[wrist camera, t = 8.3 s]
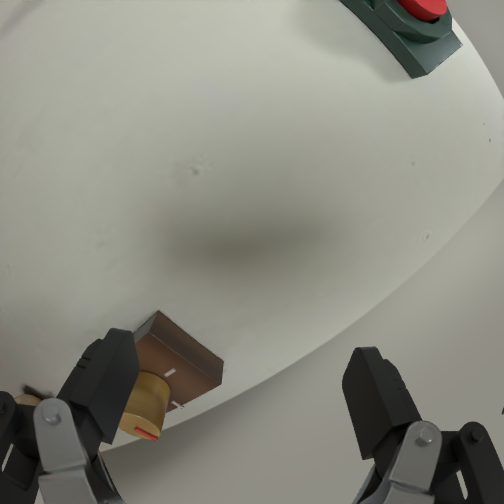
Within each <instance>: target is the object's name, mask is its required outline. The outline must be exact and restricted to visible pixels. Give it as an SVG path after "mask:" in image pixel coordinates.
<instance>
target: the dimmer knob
mask: <svg viewBox="0 0 504 504" xmlns="http://www.w3.org/2000/svg"><path fill="white" fill-rule="evenodd" d="M170 393H171V391H170V388H169V386H168V384H167V383H166V382H165V381H164V380H163V379H161V378H160V377H158V376H156V375H154V374H152V373H149V372H145V371H139V374H138V377H137V380H136V382H135V385H134V387H133V390H132V392H131V395H130V397H129V400H128V402H127V405H126V407H125V410H124V412H123V415H122V418H121V420H120V423H119V426H118V427H119V428H120V429H122V430H123V431H125V432H127V433H129V434H131V435H133V436H136V437H139V438H145V439H152V440H154V441H156V440H158V437H159V436H160V433H161V430H162V425H163V421H164V417H165V413H166V409H167V405H168V401H169V397H170Z"/></svg>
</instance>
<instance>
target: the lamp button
mask: <svg viewBox="0 0 504 504" xmlns="http://www.w3.org/2000/svg"><path fill="white" fill-rule="evenodd" d="M397 1H398V3H399V4H400V5H401V6H402V7H403V8H404V9H405V10H406V11H407V12H408V13H409V14H410V15H412V16H413V17H415V18H417V19H419V20H422V21H431V20H433V19H435V18H437V17H439V16H441V15H443V14H445V13H446V11H447V4H446V1H445V0H397Z"/></svg>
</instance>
